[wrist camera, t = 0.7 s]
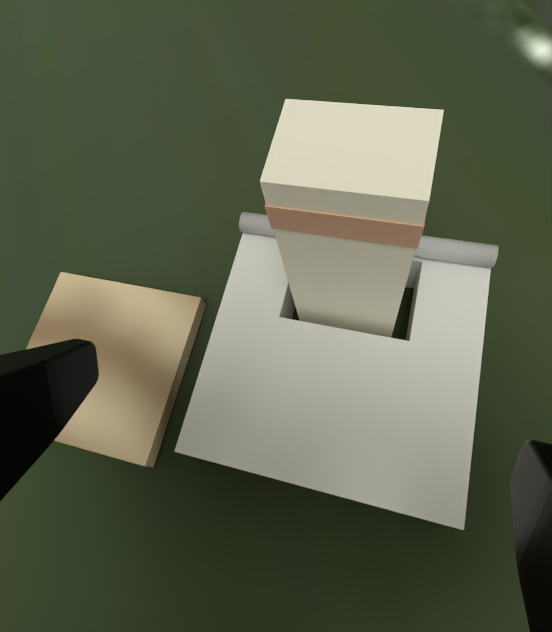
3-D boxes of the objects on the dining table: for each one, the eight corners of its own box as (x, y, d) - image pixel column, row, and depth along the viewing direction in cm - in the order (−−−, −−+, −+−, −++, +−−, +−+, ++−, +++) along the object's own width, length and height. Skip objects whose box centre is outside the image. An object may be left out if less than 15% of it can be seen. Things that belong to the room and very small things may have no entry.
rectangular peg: (389, 349, 23) (430, 202, 11) (301, 332, 24) (257, 183, 12) (398, 294, 24) (445, 109, 12) (314, 280, 25) (284, 97, 13)
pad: (153, 467, 22) (145, 466, 21) (6, 425, 24) (-8, 422, 23) (206, 304, 25) (201, 297, 24) (70, 279, 27) (60, 272, 26)
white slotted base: (447, 524, 19) (470, 532, 16) (196, 456, 22) (165, 449, 18) (475, 280, 23) (499, 241, 20) (258, 248, 26) (243, 208, 22)
